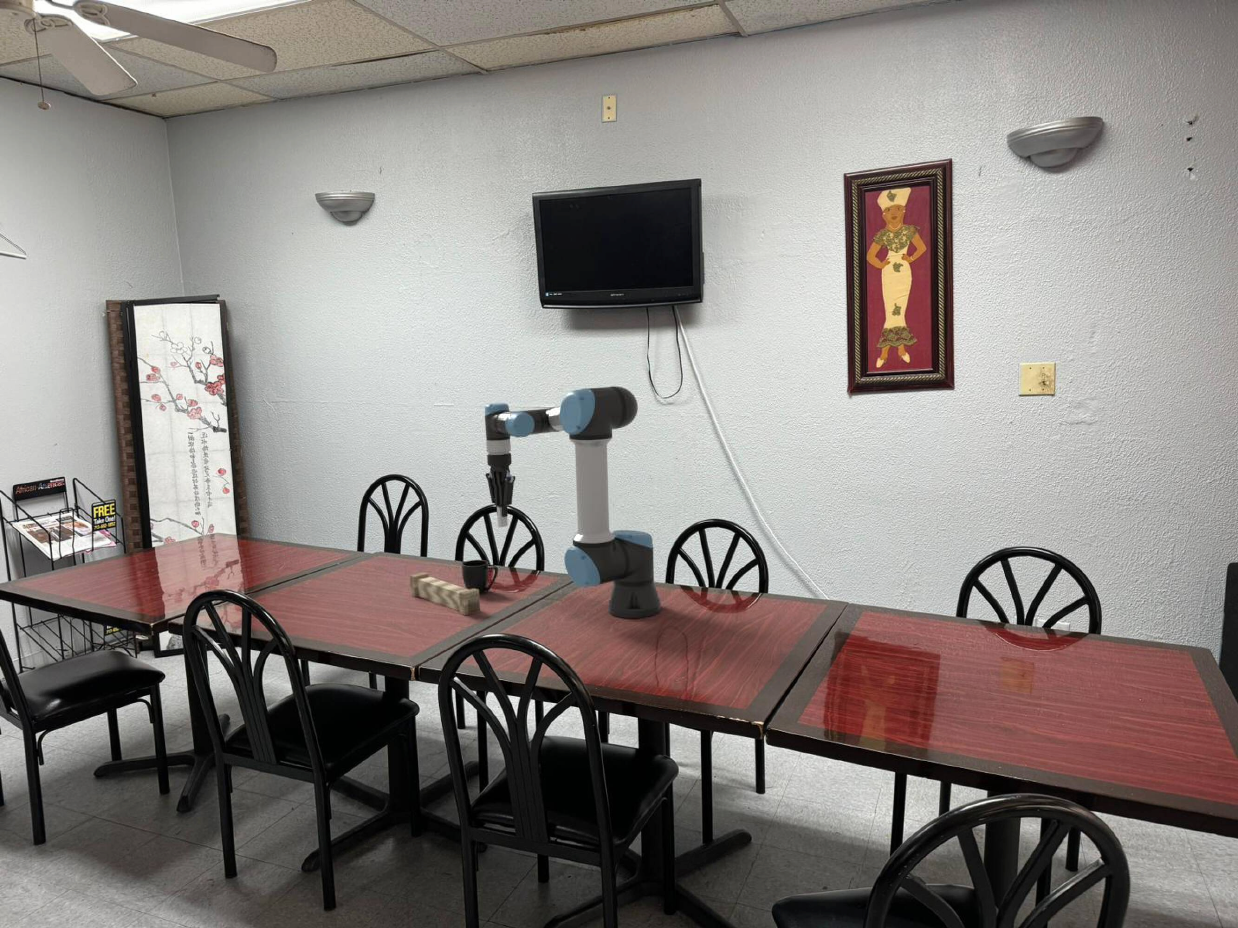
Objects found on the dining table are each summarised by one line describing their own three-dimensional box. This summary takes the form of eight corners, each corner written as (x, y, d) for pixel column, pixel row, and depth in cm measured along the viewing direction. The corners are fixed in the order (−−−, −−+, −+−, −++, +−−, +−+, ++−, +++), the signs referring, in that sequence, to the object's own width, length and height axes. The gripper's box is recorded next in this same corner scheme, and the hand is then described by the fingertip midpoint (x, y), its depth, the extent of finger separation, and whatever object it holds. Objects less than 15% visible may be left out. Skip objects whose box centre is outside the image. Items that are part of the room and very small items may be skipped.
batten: (480, 611, 259) (478, 589, 258) (465, 615, 255) (463, 593, 254) (425, 591, 280) (424, 572, 279) (411, 595, 277) (409, 575, 276)
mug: (491, 598, 271) (489, 568, 269) (458, 594, 276) (456, 565, 274) (505, 591, 278) (503, 561, 277) (472, 587, 283) (471, 558, 282)
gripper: (521, 453, 275) (524, 527, 278) (496, 449, 284) (500, 521, 288) (501, 455, 270) (505, 531, 273) (477, 452, 279) (481, 525, 283)
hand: (502, 526), depth 281 cm, fingers closed
